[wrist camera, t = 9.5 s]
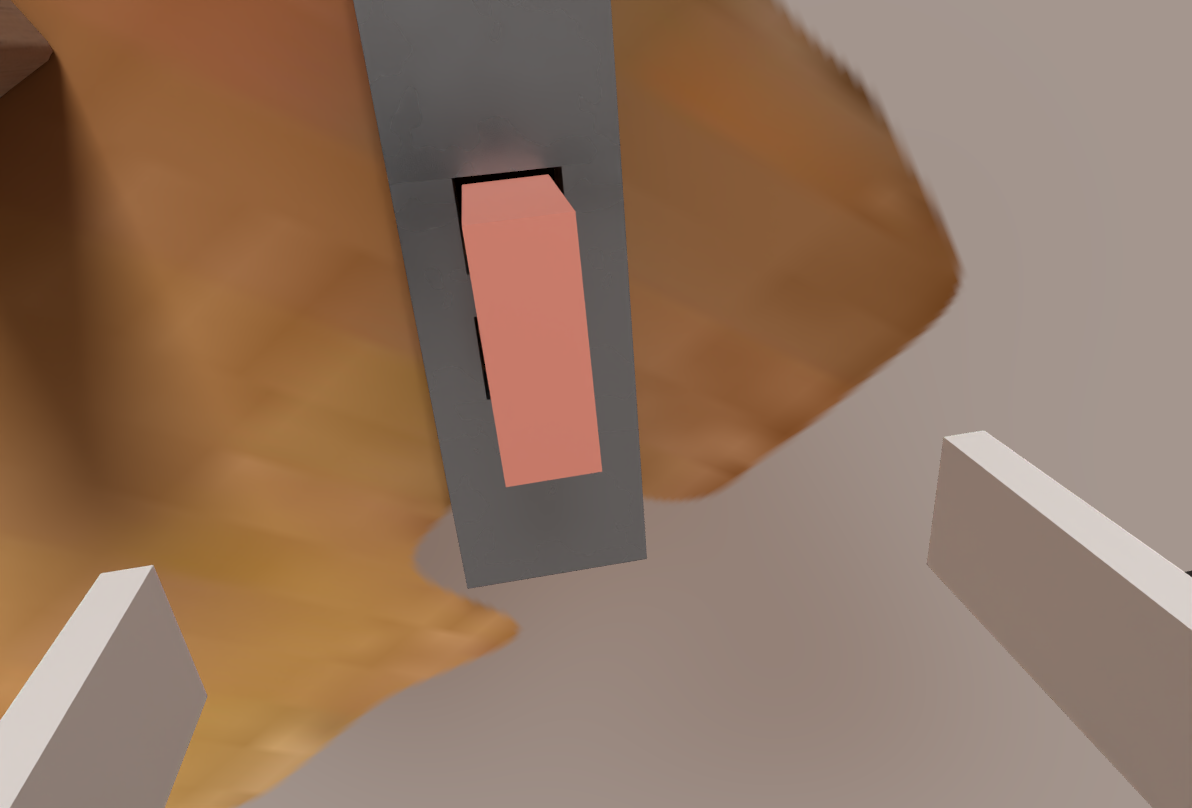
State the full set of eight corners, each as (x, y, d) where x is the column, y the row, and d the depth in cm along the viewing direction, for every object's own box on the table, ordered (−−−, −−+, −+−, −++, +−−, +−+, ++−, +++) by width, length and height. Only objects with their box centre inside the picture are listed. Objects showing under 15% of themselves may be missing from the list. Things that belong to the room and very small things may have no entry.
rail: (467, 548, 36) (467, 588, 33) (343, -108, 24) (328, -128, 22) (633, 521, 36) (646, 558, 34) (586, -124, 25) (600, -145, 23)
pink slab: (493, 366, 32) (505, 487, 23) (461, 172, 29) (461, 225, 20) (563, 356, 32) (602, 471, 23) (540, 163, 29) (575, 211, 20)
